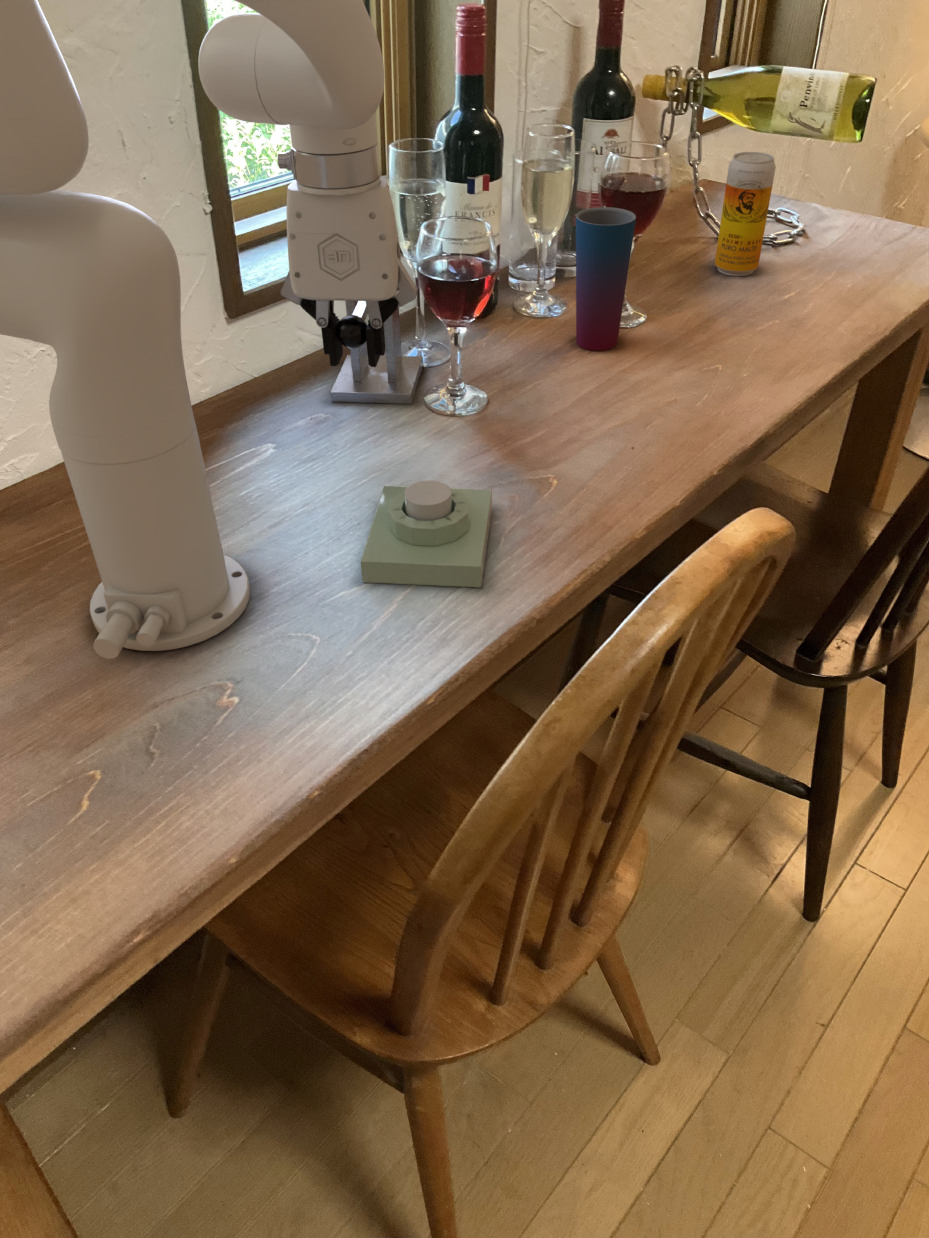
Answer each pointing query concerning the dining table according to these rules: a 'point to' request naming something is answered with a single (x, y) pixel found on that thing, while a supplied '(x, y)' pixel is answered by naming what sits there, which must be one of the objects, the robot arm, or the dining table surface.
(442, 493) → the beige push button
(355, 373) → the lever bracket
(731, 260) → the beer can
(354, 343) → the flush lever
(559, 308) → the dining table surface
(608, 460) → the dining table surface
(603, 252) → the cup
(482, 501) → the block
